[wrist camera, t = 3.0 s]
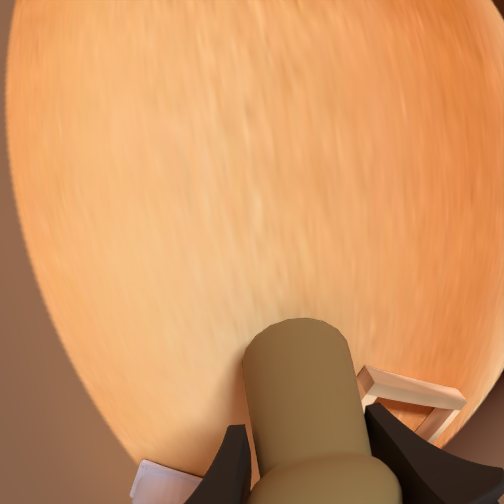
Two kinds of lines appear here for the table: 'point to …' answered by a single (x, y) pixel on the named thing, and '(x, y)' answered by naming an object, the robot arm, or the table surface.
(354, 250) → the table surface
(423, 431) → the open square wooden box
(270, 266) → the table surface
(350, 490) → the cork
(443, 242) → the table surface
